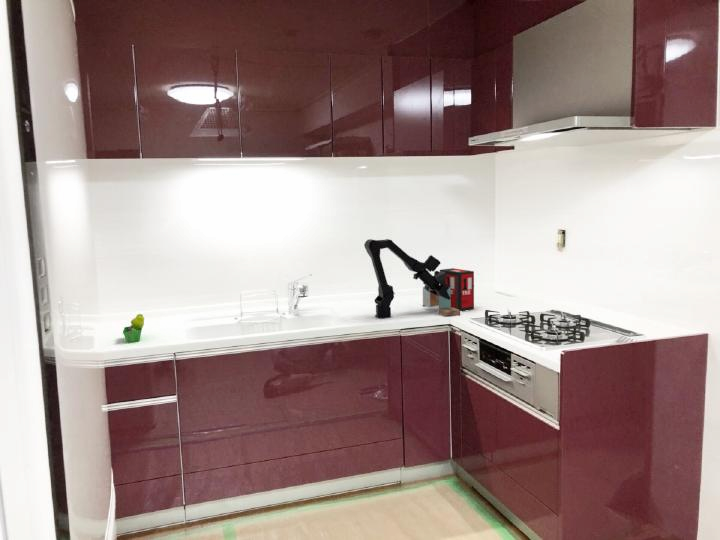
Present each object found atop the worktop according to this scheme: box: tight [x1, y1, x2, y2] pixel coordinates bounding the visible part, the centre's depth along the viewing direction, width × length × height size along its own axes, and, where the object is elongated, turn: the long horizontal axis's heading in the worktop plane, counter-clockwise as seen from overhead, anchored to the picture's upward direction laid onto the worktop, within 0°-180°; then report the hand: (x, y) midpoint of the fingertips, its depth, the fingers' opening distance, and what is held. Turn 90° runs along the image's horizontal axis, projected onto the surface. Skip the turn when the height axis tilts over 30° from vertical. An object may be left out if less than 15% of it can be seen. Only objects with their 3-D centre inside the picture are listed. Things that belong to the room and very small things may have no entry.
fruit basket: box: [122, 313, 145, 344], centre depth 259 cm, size 11×9×11 cm
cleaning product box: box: [439, 267, 475, 312], centre depth 308 cm, size 16×9×20 cm, turn 32°
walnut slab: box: [437, 308, 461, 318], centre depth 294 cm, size 8×8×2 cm
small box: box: [422, 286, 439, 308], centre depth 317 cm, size 8×6×10 cm
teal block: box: [438, 287, 451, 309], centre depth 302 cm, size 4×4×12 cm
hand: (447, 298), depth 303 cm, fingers open, 6 cm apart
